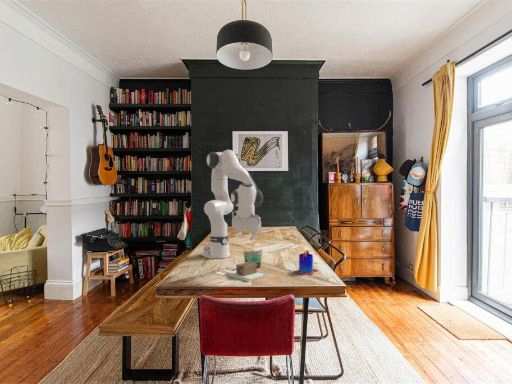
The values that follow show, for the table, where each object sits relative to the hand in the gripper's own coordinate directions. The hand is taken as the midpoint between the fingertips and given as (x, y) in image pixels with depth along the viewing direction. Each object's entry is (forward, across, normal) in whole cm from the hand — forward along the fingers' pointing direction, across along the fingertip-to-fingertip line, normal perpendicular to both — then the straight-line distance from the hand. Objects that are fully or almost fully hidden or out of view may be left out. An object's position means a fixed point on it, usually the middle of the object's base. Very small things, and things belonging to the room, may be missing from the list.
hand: (246, 239), depth 168 cm
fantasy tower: (+20, -18, -29) cm, 40 cm away
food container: (+20, +8, -14) cm, 26 cm away
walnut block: (+18, 0, 0) cm, 19 cm away
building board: (+20, 0, 0) cm, 20 cm away
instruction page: (+20, +12, +5) cm, 24 cm away
